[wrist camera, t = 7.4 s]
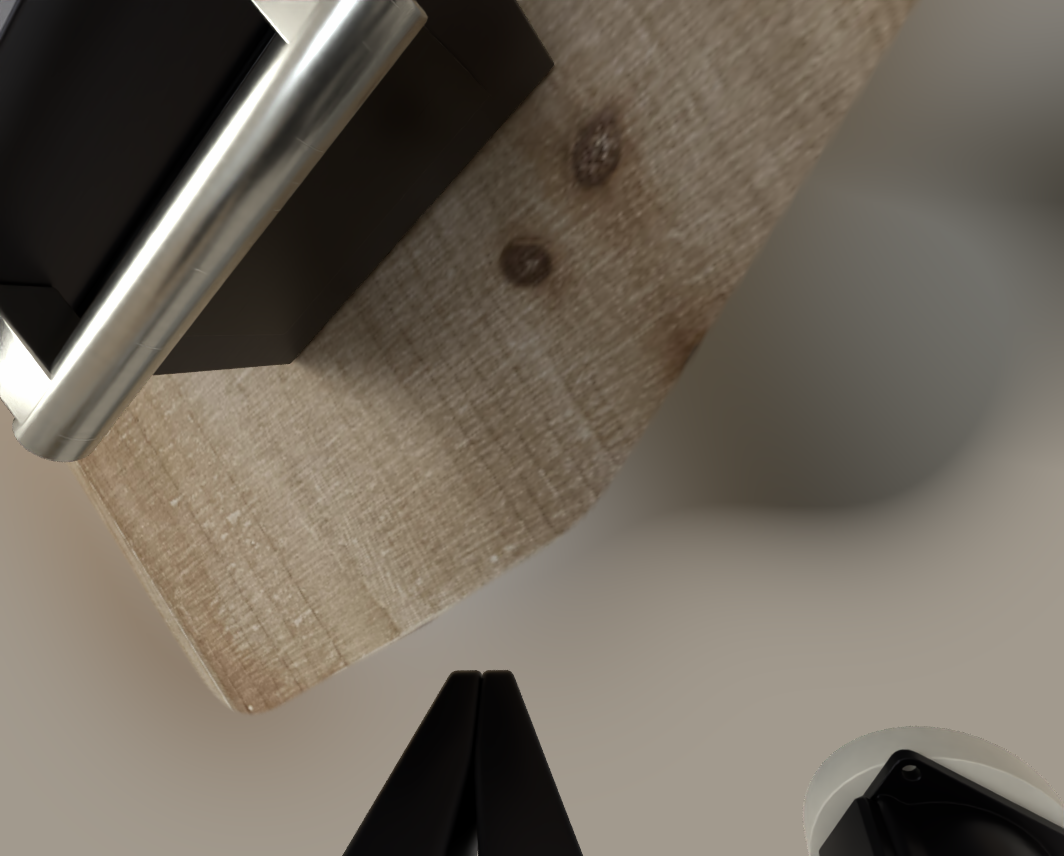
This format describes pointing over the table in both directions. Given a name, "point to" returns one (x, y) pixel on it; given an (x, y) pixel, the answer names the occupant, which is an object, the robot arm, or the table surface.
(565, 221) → the table surface
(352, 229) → the oven door
